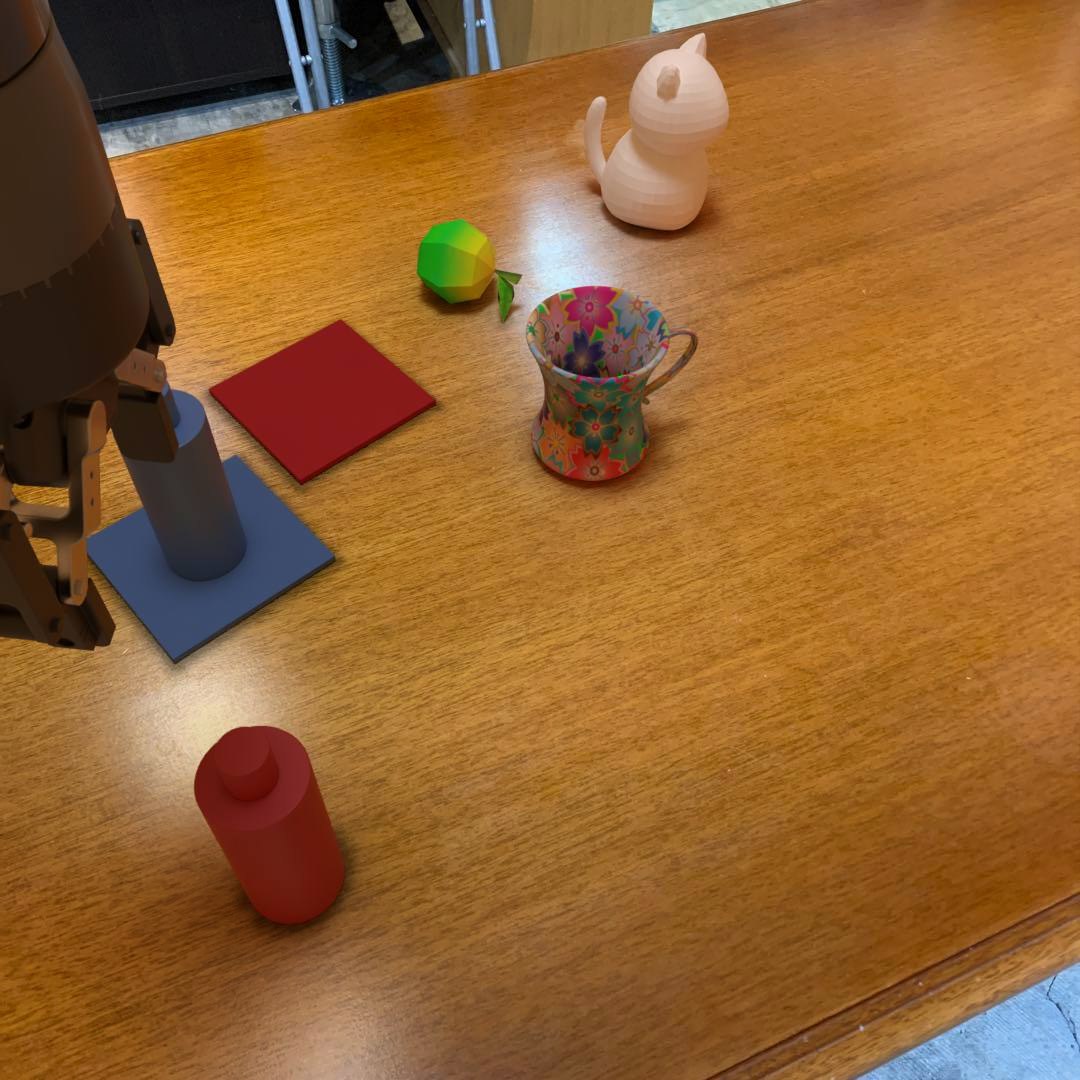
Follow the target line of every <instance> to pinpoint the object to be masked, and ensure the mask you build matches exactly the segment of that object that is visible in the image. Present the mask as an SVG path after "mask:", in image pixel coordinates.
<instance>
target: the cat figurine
mask: <svg viewBox="0 0 1080 1080" xmlns="http://www.w3.org/2000/svg"><path fill="white" fill-rule="evenodd" d="M707 43H708V42H707V37H706V34H705V32H701V33H697V34H695V35H693V36H692V37H690V38H688V39H687V40H686V41H685V42H684V43H683V44H682V45H681V46H679V48H670V49H666V50H664V51H661V52H659V53H656V54H655V55H654V56H652V57H651V58H650V59H648V60H647V62H645V64H644V65H643V66H642V68H641V69H640V71H639V72H638V74H637V76H636V78H635V80H634V82H633V84H632V87H631V92H630V95H629V100H628V119H629V123H630V125H631V128H629V129H628V130H627V132H626V133H625V134H623V136H621V137H620V139H618V141H617V142H616V144H615V145H614V148H613V149H612V151H611V153H610V155H609V157H608V160H606V158H605V155H604V151H603V146H602V129H603V128H602V127H603V122H604V120H605V119H604V118H605V114H606V111H607V105H608V104H607V99H606V98H605V96H602V95H601V96H597V97H595V98H594V100H593V101H592V102H591V104H590V105H589V108H588V110H587V112H586V116H585V119H584V126H583V127H584V128H583V133H584V134H583V135H584V137H583V139H584V145H585V146H584V148H585V153H586V157H587V162H588V164H589V167H590V170H591V173H592V175H593V177H594V179H595V180H596V181H597V183H598V184H599V185H600V191H601V196H602V200H603V203H604V205H605V206H606V208H607V210H608V211H609V212H610V214H611V215H612V216H614V217H615V218H616V219H619V220H621V221H623V222H625V223H627V224H631V225H634V226H637V227H643V228H647V229H654V230H659V231H676V230H679V229H682V228H684V227H686V226H688V225H689V224H690V223H692V221H694V220H695V219H696V218H697V216H698V215H699V214H700V211H701V209H702V207H703V205H704V203H705V199H706V196H707V192H708V188H709V178H710V177H709V175H710V174H709V170H710V169H709V168H710V167H709V162H708V156H707V152H706V149H707V148H708V147H710V146H711V145H712V144H714V143H715V142H716V141H717V140H718V139H720V137H721V136H722V135H723V134H724V132H725V131H726V129H727V127H728V125H729V119H730V107H729V106H730V105H729V100H728V97H727V96H728V95H727V93H726V90H725V88H724V85H723V82H722V80H721V78H720V77H719V74H718V73H717V70H716V69H715V68H714V67H713V65H712V64H711V63H710V62H709V61H708V60H707V46H708V45H707Z"/></svg>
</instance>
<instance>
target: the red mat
mask: <svg viewBox="0 0 1080 1080" xmlns="http://www.w3.org/2000/svg"><path fill="white" fill-rule="evenodd" d="M208 393H209V394H210V395H211V396H212V397H213V398H214V399H215V400H216V402H218V404H219V405H221V407H223V408H224V409H225V410H226V411H227V412H228V413H229V415H231V416H232V418H234V420H236V421H237V422H238V424H240V425H241V426H242V428H243V429H245V431H247V433H249V434H250V435H251V437H252V438H254V439H255V440H256V441H257V442H258V443H259V444H260V445H261V446H262V447H263V448H264V449H265V450H266V451H267V452H268V453H269V454H270V455H271V456H272V457H273V458H274V459H275V460H276V461H277V462H278V463H279V464H280V465H281V466H282V467H283V468H284V469H285V470H286V471H287V472H288V473H289V474H290V475H291V476H292V477H293V478H294V479H295V480H296V481H297V482H298V483H299V484H300V485H303V484H304V483H306V482H308V481H309V480H311V479H313V478H314V477H316V476H318V475H319V474H322V473H323V472H324V471H326V470H328V469H329V468H331V467H333V466H335V465H336V464H338V463H339V462H341V461H343V460H345V459H346V458H348V457H349V456H351V455H353V454H355V453H356V452H359V450H361V449H363V448H365V447H366V446H368V445H370V444H371V443H373V442H375V441H376V440H378V439H380V438H382V437H383V436H384V435H387V434H388V433H390V432H391V431H393V430H395V429H396V428H399V427H400V426H402V425H403V424H405V423H407V422H409V421H410V420H411V419H414V418H415V417H416V416H418V415H420V414H421V413H424V412H425V411H427V410H428V409H430V408H431V407H434V406H435V405H437V401H436V399H435V398H434V397H433V396H432V395H431V394H430V393H429V392H428V391H426V390H425V389H424V388H423V387H422V386H421V385H419V384H418V383H417V382H415V381H414V379H412V378H411V377H410V376H409V375H407V373H405V372H404V371H403V370H402V369H400V368H399V367H398V366H397V365H396V364H395V363H393V361H391V360H389V359H388V358H387V357H386V356H385V355H384V354H383V353H381V351H380V350H378V349H377V348H376V347H375V346H373V345H372V344H371V343H370V342H368V340H366V339H365V337H363V336H362V335H360V334H359V333H358V332H357V331H355V330H354V329H353V328H352V327H351V326H350V325H349V324H347V323H346V322H345V321H344V320H343V319H342V318H339V319H337V320H336V321H333V322H332V323H330V324H328V325H326V326H325V327H322V328H321V329H319V330H317V331H315V332H313V333H311V334H309V335H306V337H304V338H302V339H300V340H298V341H296V342H294V343H292V344H290V345H289V346H286V347H285V348H283V349H281V350H279V351H277V352H275V353H273V354H272V355H270V356H268V357H266V358H263V359H262V360H260V361H258V362H256V363H254V364H252V365H251V366H249V367H247V368H245V369H243V370H241V371H239V372H237V373H235V374H234V375H232V376H229V377H228V378H226V379H224V380H222V381H220V382H218V383H217V384H215V385H213V386H210V387H209V388H208Z"/></svg>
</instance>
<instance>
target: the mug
mask: <svg viewBox="0 0 1080 1080" xmlns="http://www.w3.org/2000/svg"><path fill="white" fill-rule="evenodd" d="M681 335H686V336H689V337H690V342H689V343H688V345H687V347H686V349H685V350H684V352H683V354H682V355H681V356H680V357H679V358H678V359H677V360H676V362H675V363H674V364H673V365H672V366H671V367H670V368H669V369H668V370H667V371H665V372H664V373H663V374H661V375H659V377H657V378H656V379H654V380H653V381H651V382H650V383H648V381H649V380H650V377H651V376H652V374H653V372H654V371H655V369H656V368H657V367H658V366H659V365H660V364H661V362H662V361H663V360H664V358H665V357H666V355H667V353H668V350H669V347H670V342H671V339H672V338H674V337H677V336H681ZM525 339H526V344H527V347H528V349H529V351H530V354H531V355H532V356H533V358H534V359H535V361H536V363H537V365H538V367H539V370H540V373H541V376H542V380H543V389H544V395H543V402H542V407H541V409H540V410H539V411H538V412H537V414H536V415H535V417H534V420H533V422H532V425H531V429H530V439H531V444H532V447H533V449H534V451H535V453H536V455H537V456H538V457H539V459H540V460H541V461H542V462H543V464H545V465H546V466H547V467H549V468H550V469H552V470H553V471H555V472H556V473H558V474H560V475H562V476H564V477H567V478H570V479H574V480H580V481H587V482H591V481H592V482H594V481H595V482H597V481H606V480H611V479H614V478H617V477H620V476H622V475H624V474H627V473H628V472H630V471H632V470H633V469H634V468H636V467H637V466H638V465H639V464H640V463H641V461H643V459H644V458H645V456H646V454H647V453H648V449H649V446H650V442H651V436H650V428H649V426H648V423H647V421H646V418H645V417H644V415H643V409H642V407H643V405H646V406H649V405H650V403H651V401H650V399H649V398H648V396H650V395H651V394H653V393H654V392H656V391H657V390H659V389H661V388H662V387H664V386H665V385H667V384H668V383H669V382H670V381H672V380H673V379H674V378H676V376H677V375H678V374H679V373H680V372H681V371H682V370H683V369H684V368H685V367H686V366H687V365H688V363H689V362H690V361H691V360H692V358H693V357H694V355H695V353H696V351H697V349H698V346H699V336H698V333H697V332H696V331H695V330H694V329H693V328H692V327H691V326H687V325H675V326H672V327H669V325H668V323H667V320H666V318H665V317H664V315H663V314H662V312H661V311H660V310H659V309H658V308H657V307H656V306H655V305H654V304H652V303H651V302H650V301H648V300H647V299H646V298H644V297H642V296H640V295H638V294H637V293H633V292H631V291H628V290H625V289H622V288H619V287H613V286H605V285H584V286H576V287H571V288H568V289H565V290H562V291H561V290H560V291H558V292H556V293H554V294H552V295H550V296H548V297H547V298H546V299H544V300H543V301H541V302H540V303H539V304H538V305H537V306H536V307H535V308H534V309H533V311H532V312H531V314H530V316H529V318H528V320H527V322H526V327H525ZM647 383H648V384H647ZM642 404H643V405H642Z"/></svg>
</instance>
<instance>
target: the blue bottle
mask: <svg viewBox="0 0 1080 1080" xmlns="http://www.w3.org/2000/svg"><path fill="white" fill-rule="evenodd" d="M162 394H163V397H164V400H165V403H166V406H167V409H168V412H169V415H170V418H171V421H172V424H173V427H174V431H175V434H176V437H177V440H178V443H179V448H178V451H177V454H176V456H175V459H174V461H173V462H171V463H158V462H149V461H139V460H132V459H129V458H127V457H125V456H124V455H123V454H122V453H121V452H120V450H119V447H118V445H117V442H116V440H115V437H114V435H113V432H112V431H111V432H112V433H111V434H112V436H113V439H114V442H115V444H116V447H117V448H118V451H119V453H120V456H121V458H122V460H123V462H124V464H125V467H126V470H127V472H128V475H129V476H130V479H131V481H132V483H133V484H132V485H134V488H135V491H136V493H137V495H138V498H139V500H140V502H141V505H142V507H144V509H145V512H146V514H147V516H148V519H149V521H150V523H151V526H152V528H153V530H154V533H155V535H156V537H157V540H158V542H159V544H160V547H161V549H162V551H163V554H164V556H165V559H166V561H167V563H168V565H169V567H170V568H171V570H172V571H173V572H175V573H176V574H177V575H179V576H181V577H183V578H186V579H190V580H197V581H202V580H210V579H214V578H217V577H220V576H222V575H224V574H226V573H228V572H229V571H231V570H232V569H233V568H234V567H236V566H237V565H238V563H239V562H240V561H241V559H242V558H243V556H244V554H245V551H246V546H247V541H246V536H245V533H244V530H243V527H242V524H241V521H240V518H239V515H238V512H237V508H236V505H235V502H234V499H233V496H232V493H231V490H230V487H229V484H228V481H227V477H226V474H225V471H224V468H223V465H222V462H223V461H222V459H221V456H220V452H219V450H218V447H217V443H216V440H215V438H214V434H213V432H212V429H211V425H210V421H209V418H208V415H207V412H206V409H205V407H204V405H203V404H202V402H201V401H200V400H199V398H197V397H196V396H194V395H193V394H191V393H189V392H187V391H183V390H179V389H173V388H171V386H170V383H169V381H168V380H166V383H165V386H164V389H163V390H162Z"/></svg>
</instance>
